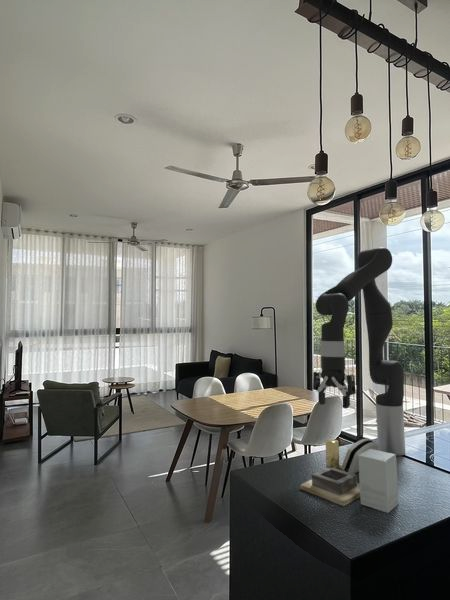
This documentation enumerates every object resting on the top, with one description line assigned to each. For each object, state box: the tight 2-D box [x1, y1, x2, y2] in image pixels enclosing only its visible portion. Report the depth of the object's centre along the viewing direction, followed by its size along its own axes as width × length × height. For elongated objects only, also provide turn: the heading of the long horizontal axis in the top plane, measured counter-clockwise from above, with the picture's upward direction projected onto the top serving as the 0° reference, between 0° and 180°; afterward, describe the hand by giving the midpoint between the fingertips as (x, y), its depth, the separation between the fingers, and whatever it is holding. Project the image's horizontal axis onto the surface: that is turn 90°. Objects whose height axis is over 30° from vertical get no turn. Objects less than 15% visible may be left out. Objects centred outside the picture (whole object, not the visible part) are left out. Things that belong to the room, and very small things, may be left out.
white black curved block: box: [339, 438, 379, 475], centre depth 122 cm, size 17×5×10 cm, turn 133°
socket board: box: [299, 467, 360, 507], centre depth 105 cm, size 13×14×4 cm
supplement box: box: [358, 449, 400, 514], centre depth 97 cm, size 7×7×13 cm
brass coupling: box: [325, 438, 340, 470], centre depth 117 cm, size 4×4×10 cm
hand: (333, 406), depth 119 cm, fingers open, 8 cm apart
